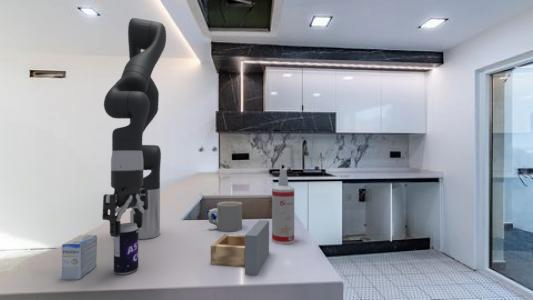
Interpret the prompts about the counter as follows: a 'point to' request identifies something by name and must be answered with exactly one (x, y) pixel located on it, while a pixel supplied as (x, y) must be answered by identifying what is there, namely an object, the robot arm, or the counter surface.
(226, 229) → the coffee mug
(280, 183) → the spray bottle
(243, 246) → the wooden box
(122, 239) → the beverage can
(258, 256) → the wall
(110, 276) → the counter surface
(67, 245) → the medicine box
